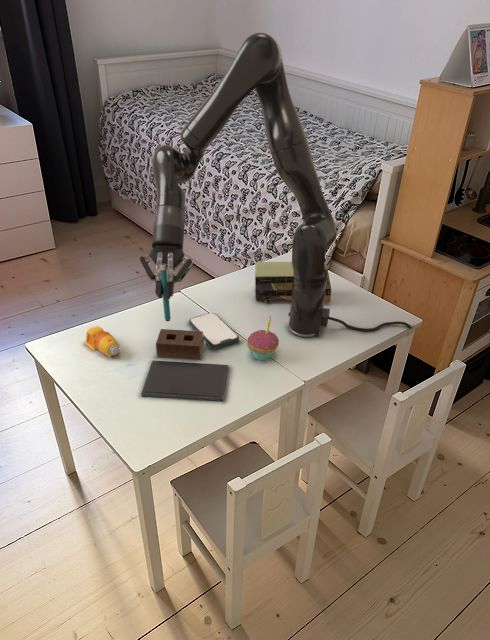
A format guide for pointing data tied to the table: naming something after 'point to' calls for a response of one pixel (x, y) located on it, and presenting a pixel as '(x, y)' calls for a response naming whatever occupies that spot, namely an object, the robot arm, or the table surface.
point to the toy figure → (101, 341)
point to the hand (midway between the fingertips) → (163, 297)
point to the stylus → (164, 287)
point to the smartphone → (214, 330)
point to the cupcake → (263, 343)
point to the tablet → (185, 380)
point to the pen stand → (180, 344)
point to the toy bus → (277, 282)
